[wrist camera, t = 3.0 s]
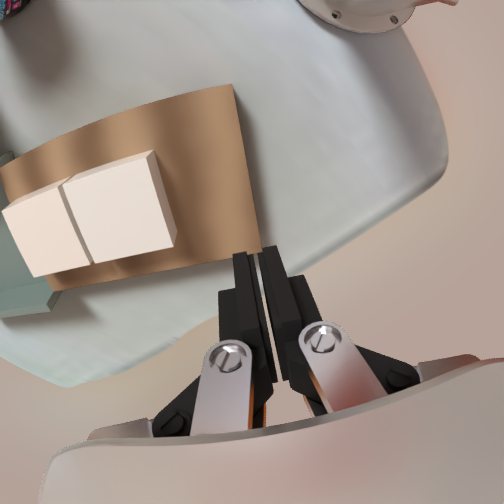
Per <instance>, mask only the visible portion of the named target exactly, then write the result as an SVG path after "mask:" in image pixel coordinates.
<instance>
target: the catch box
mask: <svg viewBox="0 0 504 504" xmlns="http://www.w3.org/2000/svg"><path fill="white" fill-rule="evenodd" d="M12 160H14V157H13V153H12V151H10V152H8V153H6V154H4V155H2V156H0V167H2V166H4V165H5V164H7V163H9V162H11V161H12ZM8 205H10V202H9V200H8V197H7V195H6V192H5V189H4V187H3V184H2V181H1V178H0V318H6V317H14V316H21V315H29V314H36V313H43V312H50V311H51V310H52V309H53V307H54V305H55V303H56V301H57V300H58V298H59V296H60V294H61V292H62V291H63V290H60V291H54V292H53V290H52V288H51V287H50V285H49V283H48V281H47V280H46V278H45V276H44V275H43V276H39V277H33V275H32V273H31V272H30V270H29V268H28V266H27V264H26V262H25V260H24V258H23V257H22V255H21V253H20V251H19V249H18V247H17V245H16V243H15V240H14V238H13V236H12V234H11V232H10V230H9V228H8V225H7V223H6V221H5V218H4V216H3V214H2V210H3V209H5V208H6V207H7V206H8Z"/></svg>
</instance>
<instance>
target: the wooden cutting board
mask: <svg viewBox="0 0 504 504" xmlns="http://www.w3.org/2000/svg"><path fill="white" fill-rule="evenodd" d="M150 150H154V153H155V156H156V160H157V164H158V167H159V171H160V175H161V178H162V182H163V185H164V189H165V192H166V195H167V199H168V202H169V206H170V209H171V212H172V215H173V219H174V222H175V225H176V228H177V235H176V239H175V243H174V247H170V248H166V249H161V250H156V251H151V252H147V253H142V254H137V255H132V256H128V257H123V258H118V259H114V260H109V261H105V262H100V263H96V264H95V262H94V260H93V261H92V263H91V264H90V265H87V266H82V267H78V268H73V269H69V270H65V271H60V272H56V273H51V274H47V275H44V276H45V278H46V280H47V281H48V283H49V285H50V287H51V288H52V290H53V292H54V291H60V290H65V289H70V288H76V287H81V286H86V285H92V284H97V283H102V282H107V281H113V280H118V279H123V278H128V277H134V276H139V275H144V274H149V273H155V272H160V271H165V270H170V269H176V268H181V267H186V266H191V265H197V264H202V263H207V262H212V261H217V260H223V259H228V258H233V256H232V254H234V253H239V252H244V251H247V255H249V254H254V253H259V252H262V247H261V241H260V236H259V230H258V224H257V218H256V213H255V207H254V201H253V196H252V190H251V185H250V179H249V174H248V168H247V162H246V157H245V151H244V146H243V140H242V135H241V130H240V124H239V119H238V113H237V108H236V103H235V97H234V92H233V87H232V84H228V85H223V86H217V87H212V88H208V89H203V90H198V91H194V92H190V93H186V94H182V95H178V96H174V97H170V98H166V99H163V100H159V101H156V102H152V103H149V104H145V105H142V106H139V107H136V108H133V109H130V110H127V111H124V112H121V113H118V114H115V115H112V116H109V117H107V118H104V119H101V120H99V121H96V122H93V123H91V124H88V125H86V126H83V127H81V128H78V129H76V130H74V131H71V132H69V133H67V134H65V135H62V136H60V137H58V138H56V139H54V140H51V141H49V142H47V143H45V144H43V145H41V146H39V147H37V148H35V149H33V150H31V151H29V152H27V153H25V154H23V155H22V156H20V157H18V158H16V159H14V160H12V161H11V162H9V163H7V164H5V165H4V166H2V167H0V178H1V181H2V184H3V187H4V189H5V192H6V195H7V197H8V200H9V202H10V204H11V203H12V202H13V201H15V200H16V199H18V198H20V197H22V196H25V195H27V194H29V193H31V192H34V191H36V190H38V189H41V188H43V187H45V186H48V185H50V184H53V183H55V182H58V181H60V180H63V179H65V178H68V177H71V178H72V177H73V176H75V175H76V174H79V173H81V172H84V171H87V170H90V169H93V168H95V167H98V166H101V165H104V164H107V163H110V162H113V161H117V160H120V159H123V158H126V157H129V156H133V155H136V154H140V153H143V152H147V151H150Z"/></svg>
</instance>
